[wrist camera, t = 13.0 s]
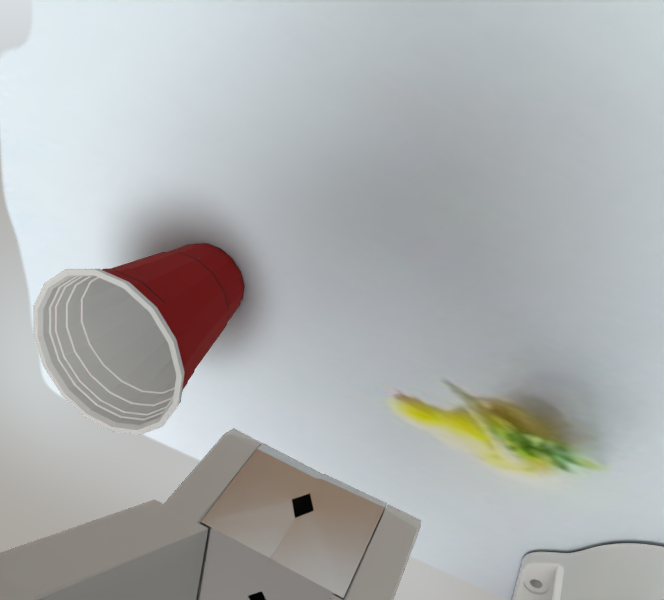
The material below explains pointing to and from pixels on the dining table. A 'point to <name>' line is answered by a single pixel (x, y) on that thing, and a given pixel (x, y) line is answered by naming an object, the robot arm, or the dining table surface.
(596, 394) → the dining table surface
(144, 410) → the plastic cup
